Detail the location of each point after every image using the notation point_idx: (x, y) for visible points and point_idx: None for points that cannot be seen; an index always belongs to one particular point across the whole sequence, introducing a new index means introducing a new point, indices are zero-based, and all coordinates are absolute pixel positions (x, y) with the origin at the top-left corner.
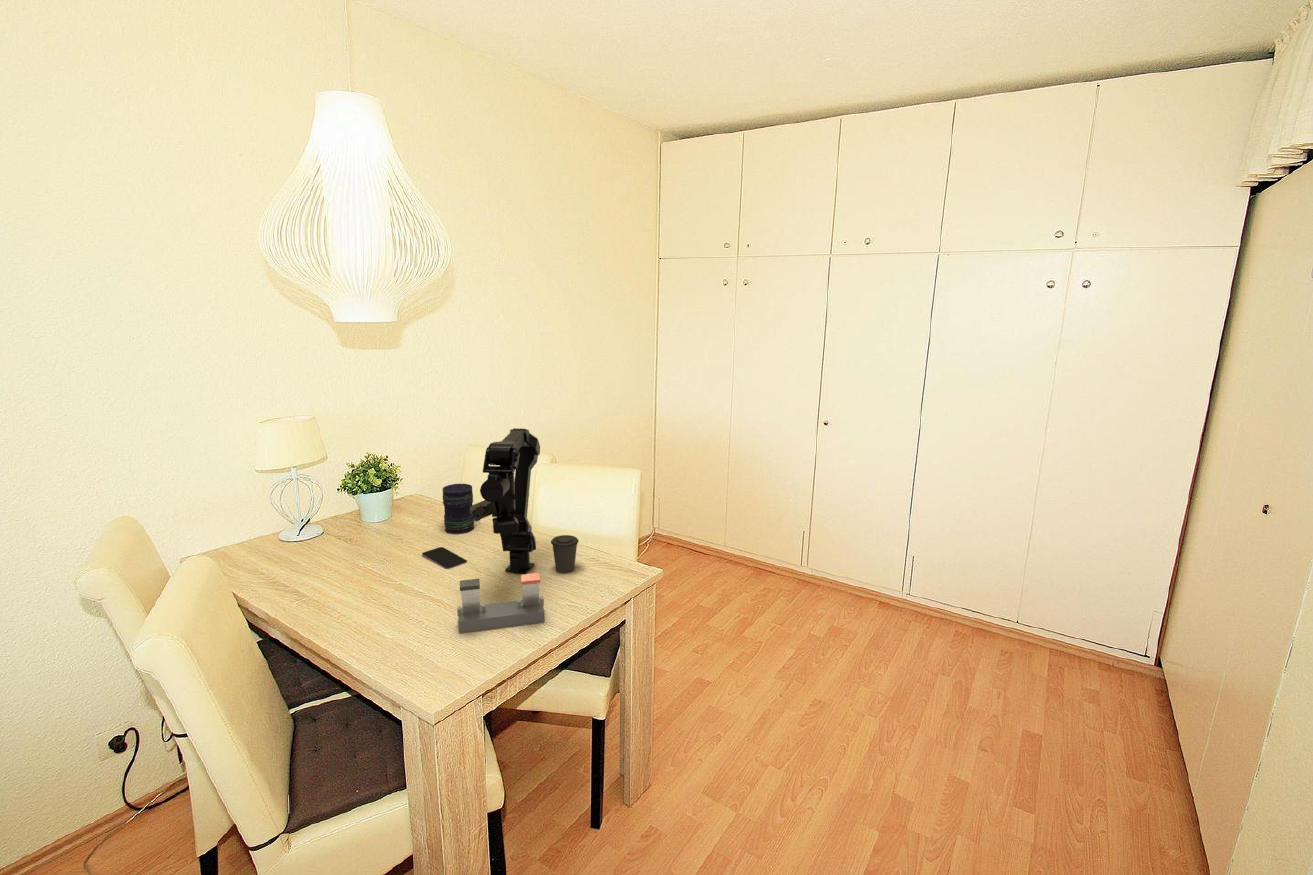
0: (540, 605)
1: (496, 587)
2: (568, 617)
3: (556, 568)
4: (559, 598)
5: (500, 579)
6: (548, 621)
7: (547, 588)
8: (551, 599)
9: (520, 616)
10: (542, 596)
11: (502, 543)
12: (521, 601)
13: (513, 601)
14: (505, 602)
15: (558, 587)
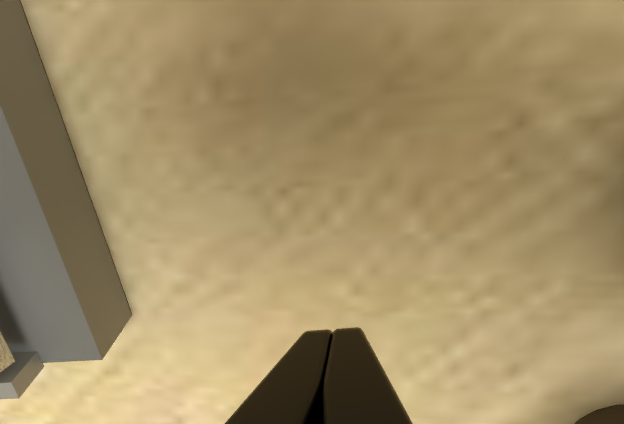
0: None
1: (450, 18)
2: (54, 416)
3: (615, 422)
4: (242, 396)
5: (600, 36)
6: None
7: None
8: (232, 361)
9: None
10: (10, 395)
11: (272, 370)
12: (40, 253)
13: (32, 205)
14: (10, 154)
15: None
